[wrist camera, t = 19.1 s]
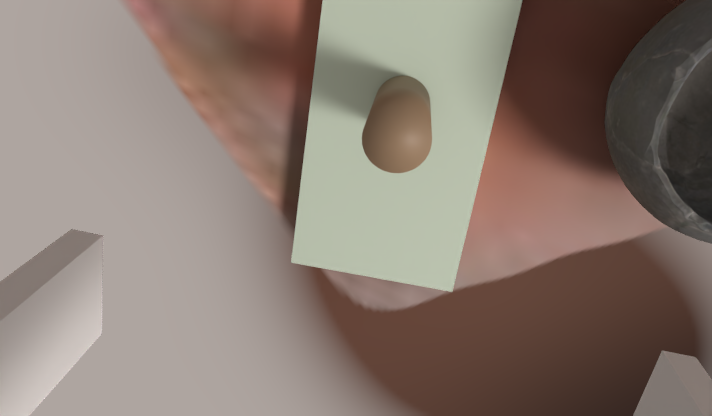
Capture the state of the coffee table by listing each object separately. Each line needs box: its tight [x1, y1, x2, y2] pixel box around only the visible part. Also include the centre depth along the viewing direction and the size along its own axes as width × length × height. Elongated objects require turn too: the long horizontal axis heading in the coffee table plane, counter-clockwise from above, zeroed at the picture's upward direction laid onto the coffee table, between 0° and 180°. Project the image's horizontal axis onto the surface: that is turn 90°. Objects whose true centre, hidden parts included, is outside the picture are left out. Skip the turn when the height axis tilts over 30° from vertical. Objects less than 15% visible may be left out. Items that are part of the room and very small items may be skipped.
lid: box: [291, 0, 523, 292], centre depth 36 cm, size 12×26×11 cm, turn 172°
